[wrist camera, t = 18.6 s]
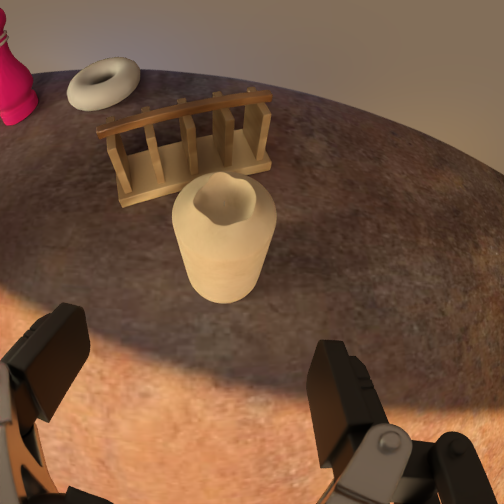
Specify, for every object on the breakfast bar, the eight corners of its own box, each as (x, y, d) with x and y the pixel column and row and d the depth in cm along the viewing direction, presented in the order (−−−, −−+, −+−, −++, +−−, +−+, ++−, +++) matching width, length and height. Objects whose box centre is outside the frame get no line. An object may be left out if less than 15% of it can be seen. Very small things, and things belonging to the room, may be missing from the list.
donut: (154, 73, 34) (95, 71, 34) (152, 52, 31) (91, 53, 31) (119, 119, 30) (57, 115, 30) (113, 97, 27) (49, 96, 27)
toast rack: (122, 208, 25) (96, 151, 18) (117, 167, 27) (96, 110, 20) (270, 170, 28) (283, 110, 21) (252, 135, 30) (260, 76, 23)
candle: (193, 309, 22) (172, 257, 13) (184, 243, 24) (165, 161, 15) (265, 297, 23) (294, 238, 14) (251, 233, 25) (266, 149, 16)
